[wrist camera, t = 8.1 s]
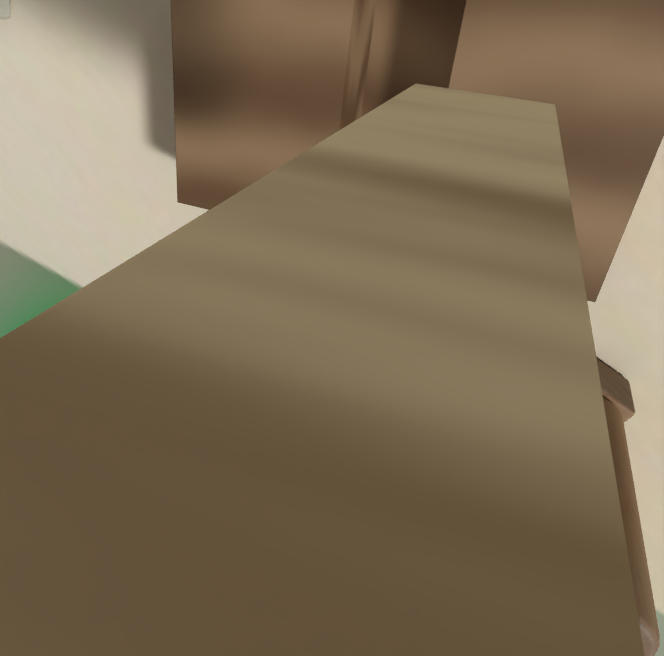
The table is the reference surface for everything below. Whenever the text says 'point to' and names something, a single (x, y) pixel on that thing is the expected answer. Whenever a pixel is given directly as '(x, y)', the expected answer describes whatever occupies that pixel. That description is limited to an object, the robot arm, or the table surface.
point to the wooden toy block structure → (629, 500)
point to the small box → (4, 9)
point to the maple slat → (328, 416)
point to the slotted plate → (427, 69)
